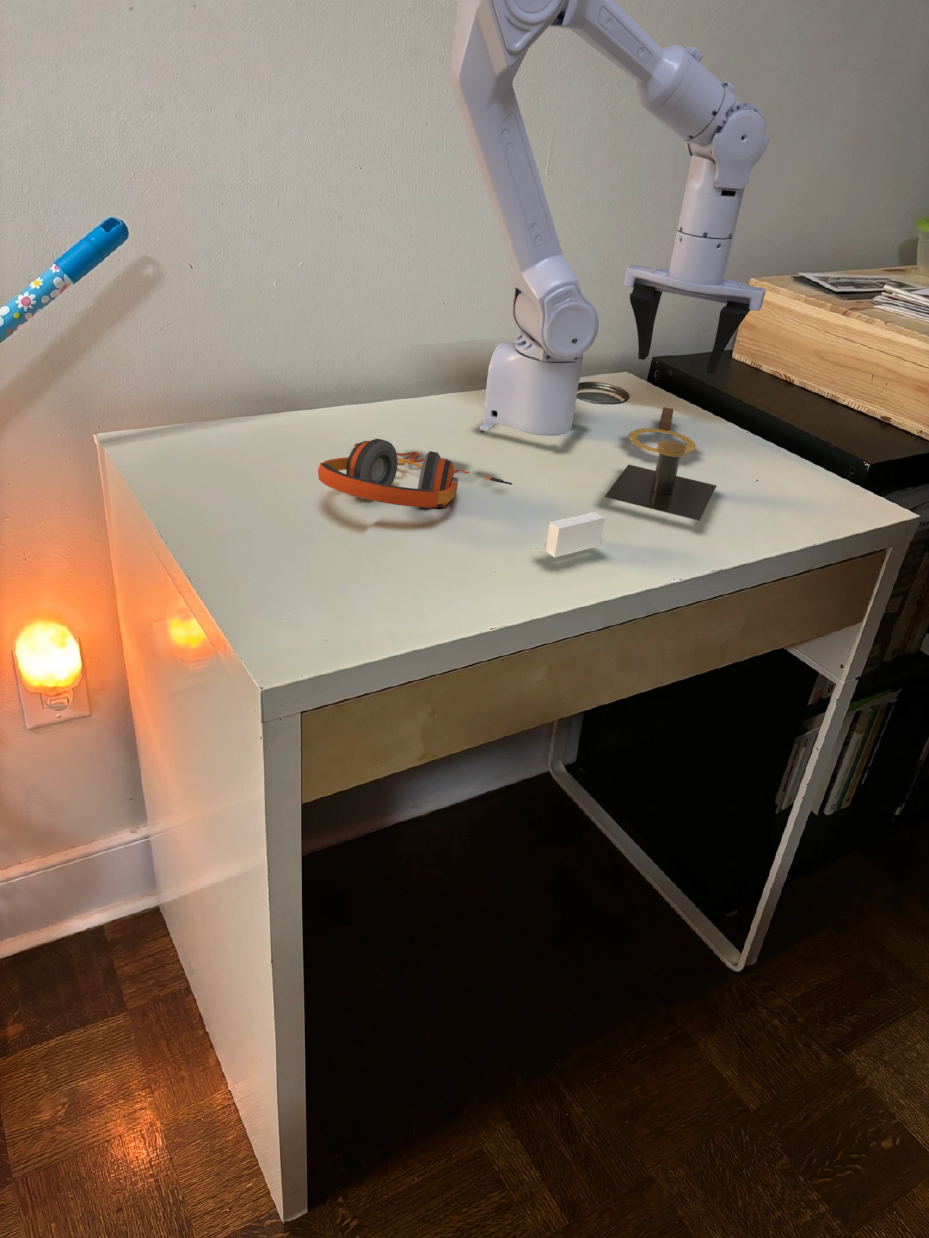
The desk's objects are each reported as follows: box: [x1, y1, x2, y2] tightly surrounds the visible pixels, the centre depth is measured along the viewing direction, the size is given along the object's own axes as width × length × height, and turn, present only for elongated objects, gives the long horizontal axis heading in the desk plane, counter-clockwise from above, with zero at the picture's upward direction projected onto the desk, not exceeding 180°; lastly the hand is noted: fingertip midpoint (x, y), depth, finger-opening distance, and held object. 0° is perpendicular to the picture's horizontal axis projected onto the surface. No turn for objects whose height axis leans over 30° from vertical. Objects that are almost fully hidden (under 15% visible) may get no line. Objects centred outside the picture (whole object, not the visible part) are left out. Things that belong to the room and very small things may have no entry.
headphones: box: [317, 438, 513, 510], centre depth 83 cm, size 17×5×20 cm
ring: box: [627, 406, 696, 455], centre depth 102 cm, size 12×7×2 cm, turn 166°
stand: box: [604, 440, 717, 522], centre depth 88 cm, size 9×9×6 cm
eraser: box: [545, 511, 606, 558], centre depth 77 cm, size 1×5×4 cm, turn 123°
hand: (676, 364), depth 102 cm, fingers open, 7 cm apart
